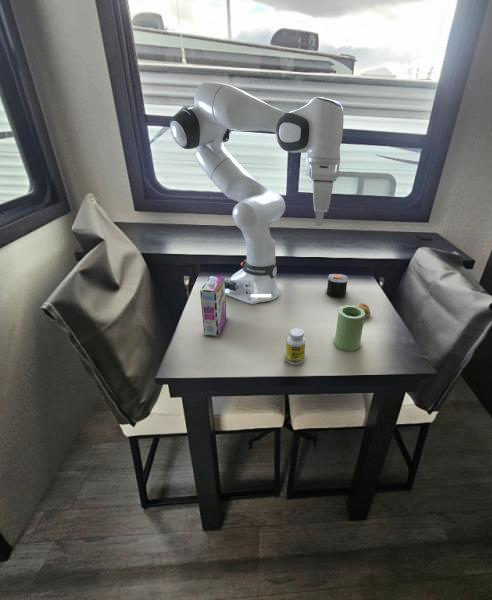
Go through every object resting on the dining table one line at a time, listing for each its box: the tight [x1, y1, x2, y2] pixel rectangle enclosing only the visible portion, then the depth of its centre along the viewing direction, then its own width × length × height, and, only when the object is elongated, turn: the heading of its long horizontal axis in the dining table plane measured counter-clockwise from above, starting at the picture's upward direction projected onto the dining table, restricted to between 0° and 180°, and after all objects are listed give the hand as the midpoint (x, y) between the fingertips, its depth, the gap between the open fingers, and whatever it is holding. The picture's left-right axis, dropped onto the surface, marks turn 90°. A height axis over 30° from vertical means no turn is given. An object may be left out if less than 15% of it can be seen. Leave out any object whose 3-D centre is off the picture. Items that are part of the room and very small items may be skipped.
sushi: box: [326, 273, 349, 299], centre depth 131 cm, size 8×8×8 cm
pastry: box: [353, 302, 372, 318], centre depth 117 cm, size 9×7×4 cm
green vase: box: [334, 304, 366, 352], centre depth 99 cm, size 8×8×12 cm
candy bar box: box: [199, 275, 228, 337], centre depth 102 cm, size 11×5×16 cm, turn 178°
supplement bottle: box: [285, 327, 306, 365], centre depth 91 cm, size 5×5×10 cm
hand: (318, 220), depth 91 cm, fingers open, 8 cm apart
